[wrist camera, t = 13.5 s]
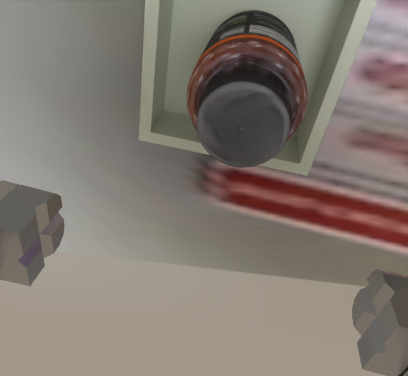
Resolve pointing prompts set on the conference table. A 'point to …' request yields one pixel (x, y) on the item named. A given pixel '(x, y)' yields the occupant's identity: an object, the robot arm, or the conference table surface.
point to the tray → (200, 36)
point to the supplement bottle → (247, 90)
